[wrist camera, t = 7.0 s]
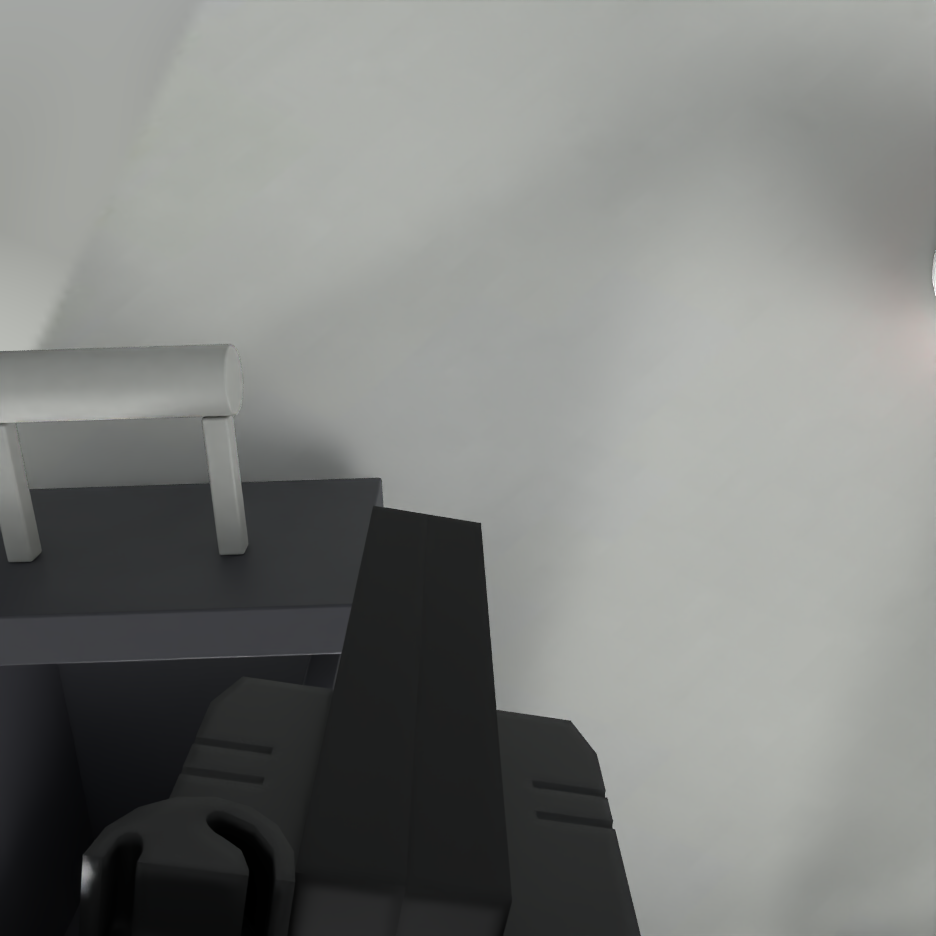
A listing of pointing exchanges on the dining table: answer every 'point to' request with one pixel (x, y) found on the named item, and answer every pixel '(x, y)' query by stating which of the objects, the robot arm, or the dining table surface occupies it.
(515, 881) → the robot arm
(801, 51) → the dining table surface
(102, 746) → the pulled-out drawer
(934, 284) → the pill bottle
